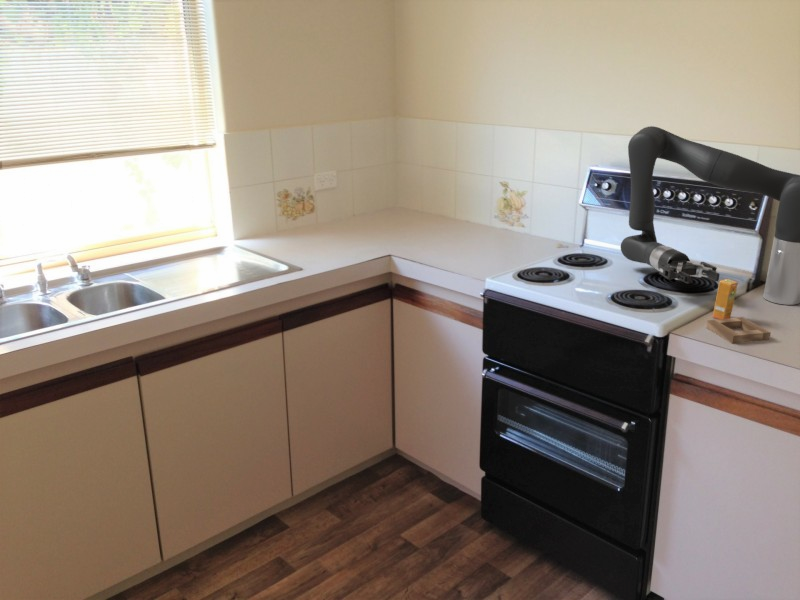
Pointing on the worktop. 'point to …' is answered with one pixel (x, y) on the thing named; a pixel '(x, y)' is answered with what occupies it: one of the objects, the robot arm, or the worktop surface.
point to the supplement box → (725, 299)
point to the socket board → (748, 335)
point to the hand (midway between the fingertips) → (703, 278)
